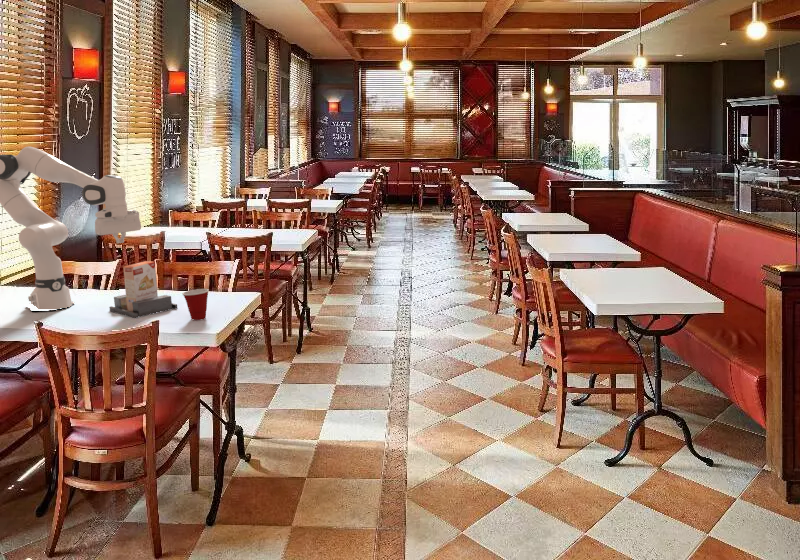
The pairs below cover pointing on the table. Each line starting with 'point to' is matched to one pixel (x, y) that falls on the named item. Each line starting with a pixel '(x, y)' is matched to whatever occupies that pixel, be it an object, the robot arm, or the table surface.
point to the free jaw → (120, 302)
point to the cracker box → (140, 282)
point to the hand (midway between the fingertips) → (120, 242)
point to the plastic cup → (197, 303)
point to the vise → (147, 306)
